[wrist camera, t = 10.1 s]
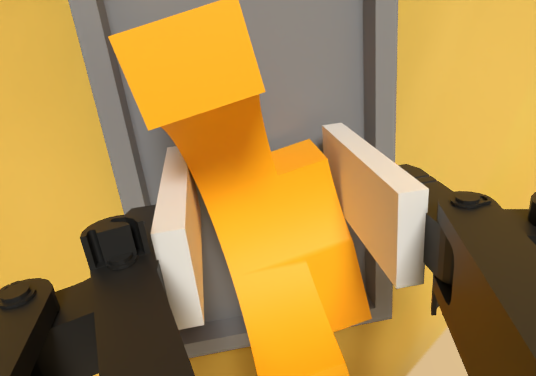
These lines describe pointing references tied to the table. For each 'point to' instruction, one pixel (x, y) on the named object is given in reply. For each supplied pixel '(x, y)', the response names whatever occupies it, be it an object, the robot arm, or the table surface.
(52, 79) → the table surface
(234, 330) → the tray
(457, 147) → the table surface
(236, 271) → the pipe clamp
